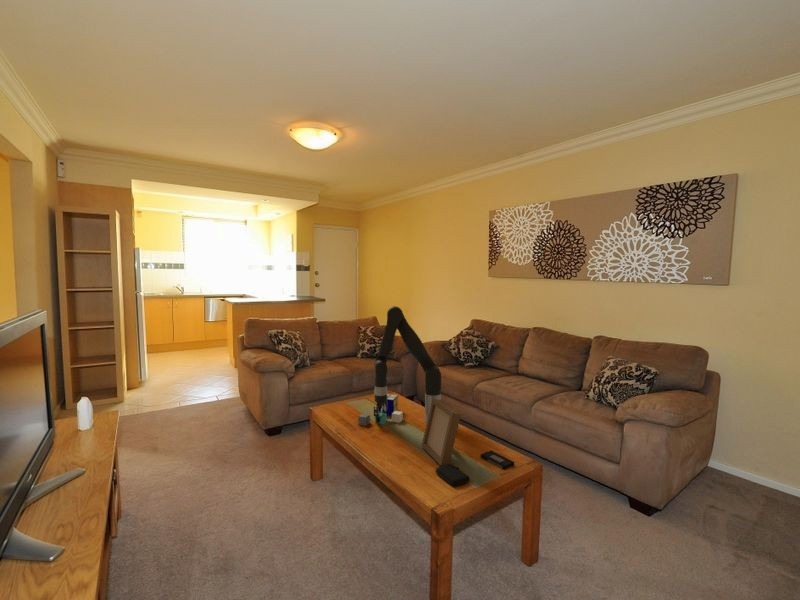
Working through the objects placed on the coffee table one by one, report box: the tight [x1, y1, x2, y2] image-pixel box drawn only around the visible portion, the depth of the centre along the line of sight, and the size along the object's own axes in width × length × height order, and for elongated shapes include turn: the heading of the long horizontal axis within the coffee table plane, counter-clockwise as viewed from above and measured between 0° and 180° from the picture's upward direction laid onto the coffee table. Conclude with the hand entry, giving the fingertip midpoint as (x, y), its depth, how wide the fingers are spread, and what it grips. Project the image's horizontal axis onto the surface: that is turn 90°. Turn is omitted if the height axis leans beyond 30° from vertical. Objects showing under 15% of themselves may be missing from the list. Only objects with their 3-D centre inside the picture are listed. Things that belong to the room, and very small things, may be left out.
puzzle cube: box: [382, 393, 399, 416], centre depth 251 cm, size 10×10×10 cm
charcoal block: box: [357, 413, 371, 427], centre depth 232 cm, size 5×5×5 cm
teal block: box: [374, 412, 388, 425], centre depth 235 cm, size 5×5×5 cm
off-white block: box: [391, 410, 404, 424], centre depth 237 cm, size 5×5×5 cm
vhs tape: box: [480, 450, 515, 470], centre depth 187 cm, size 8×14×2 cm, turn 34°
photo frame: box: [421, 399, 462, 467], centre depth 192 cm, size 15×22×25 cm
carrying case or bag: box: [435, 463, 471, 487], centre depth 173 cm, size 11×3×15 cm
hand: (380, 420), depth 235 cm, fingers open, 7 cm apart
